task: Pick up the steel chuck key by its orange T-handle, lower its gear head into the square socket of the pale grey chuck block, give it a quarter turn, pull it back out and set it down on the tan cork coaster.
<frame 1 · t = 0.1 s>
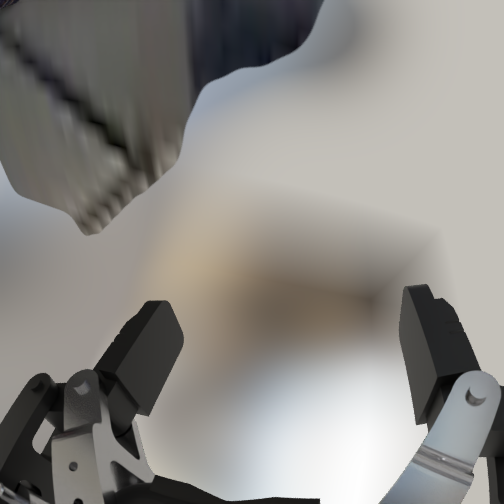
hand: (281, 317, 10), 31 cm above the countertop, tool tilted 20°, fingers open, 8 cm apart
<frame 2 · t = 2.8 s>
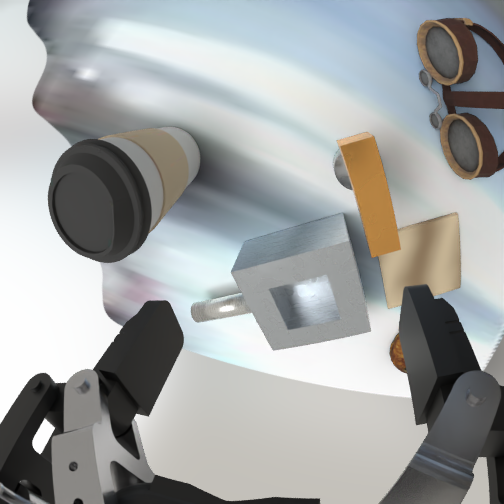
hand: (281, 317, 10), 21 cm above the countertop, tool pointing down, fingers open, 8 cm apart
cork coaster: (421, 262, 29), on the countertop
chuck key: (353, 164, 26), on the countertop
bread roll: (424, 338, 36), on the countertop
chuck block: (308, 270, 33), on the countertop
goggles: (474, 93, 19), on the countertop
coffee cup: (171, 157, 29), on the countertop
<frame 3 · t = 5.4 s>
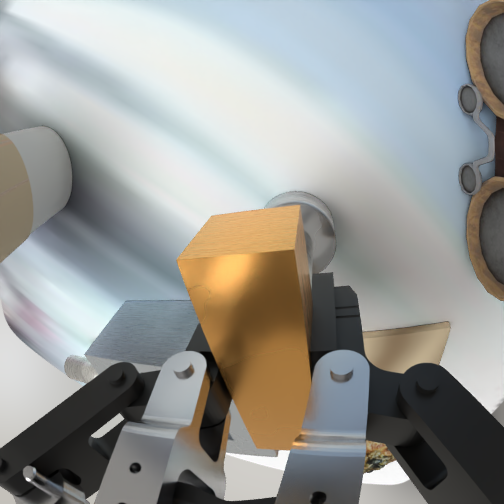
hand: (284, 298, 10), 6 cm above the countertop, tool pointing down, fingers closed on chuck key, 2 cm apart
cork coaster: (376, 375, 20), on the countertop
chuck key: (296, 227, 16), on the countertop, touching gripper
bread roll: (361, 439, 27), on the countertop
chuck block: (209, 355, 22), on the countertop
coffee cup: (44, 170, 17), on the countertop
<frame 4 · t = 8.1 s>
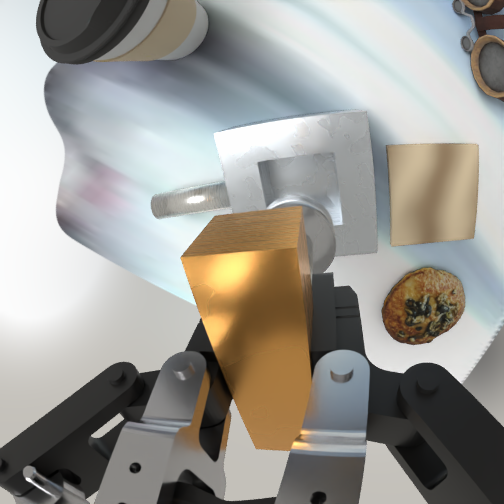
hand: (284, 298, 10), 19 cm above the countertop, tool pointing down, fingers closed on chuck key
cork coaster: (435, 193, 24), on the countertop
chuck key: (296, 230, 16), point 12 cm above the countertop, touching gripper
bread roll: (423, 300, 31), on the countertop
chuck block: (303, 174, 26), on the countertop
goggles: (502, 39, 14), on the countertop
coffee cup: (176, 29, 21), on the countertop
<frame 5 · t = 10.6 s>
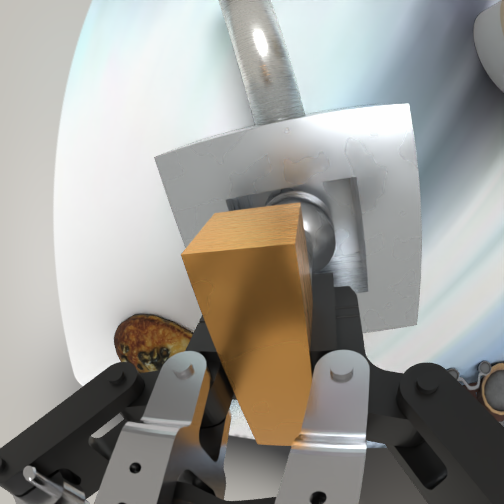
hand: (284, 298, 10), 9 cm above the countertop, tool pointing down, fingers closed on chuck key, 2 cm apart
chuck key: (296, 226, 16), point 3 cm above the countertop, touching gripper
bread roll: (168, 350, 29), on the countertop
chuck block: (306, 204, 18), on the countertop
goggles: (450, 397, 25), on the countertop
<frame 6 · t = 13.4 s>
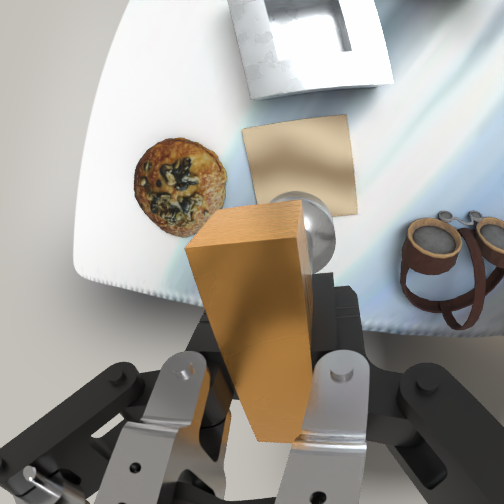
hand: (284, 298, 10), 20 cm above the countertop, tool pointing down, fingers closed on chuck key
cork coaster: (302, 169, 28), on the countertop
chuck key: (296, 226, 16), point 14 cm above the countertop, touching gripper
bread roll: (183, 185, 32), on the countertop
chuck block: (308, 38, 21), on the countertop
goggles: (450, 260, 29), on the countertop
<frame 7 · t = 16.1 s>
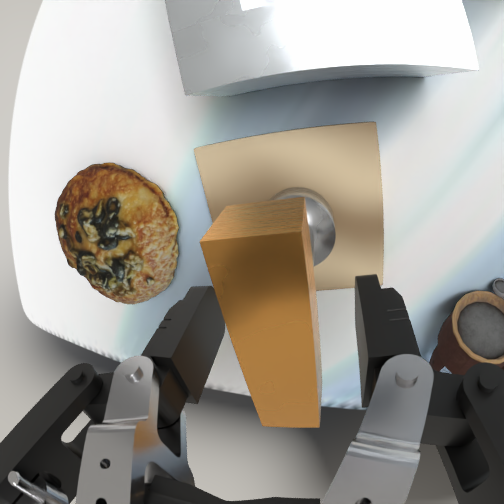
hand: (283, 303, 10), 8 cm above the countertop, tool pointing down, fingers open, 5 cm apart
cork coaster: (297, 215, 17), on the countertop
chuck key: (298, 220, 17), point 1 cm above the countertop, touching cork coaster
bread roll: (123, 231, 21), on the countertop
goggles: (491, 333, 19), on the countertop
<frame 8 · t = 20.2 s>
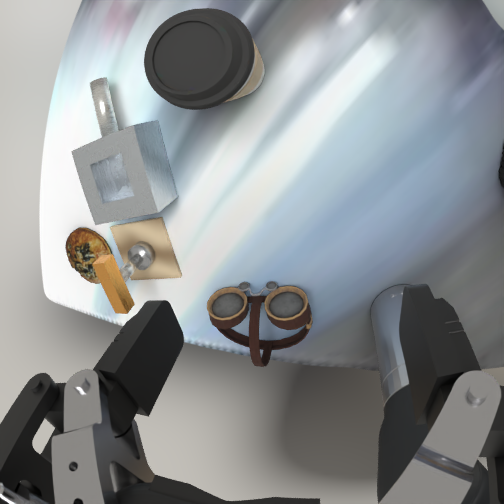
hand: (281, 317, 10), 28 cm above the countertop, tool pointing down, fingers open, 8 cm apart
cork coaster: (145, 250, 45), on the countertop
chuck key: (144, 252, 44), point 1 cm above the countertop, touching cork coaster
bread roll: (93, 253, 48), on the countertop
chuck block: (135, 167, 38), on the countertop
goggles: (265, 313, 47), on the countertop
coffee cup: (236, 70, 30), on the countertop
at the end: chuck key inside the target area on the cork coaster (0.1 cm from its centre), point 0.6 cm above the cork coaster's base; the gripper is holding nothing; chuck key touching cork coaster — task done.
